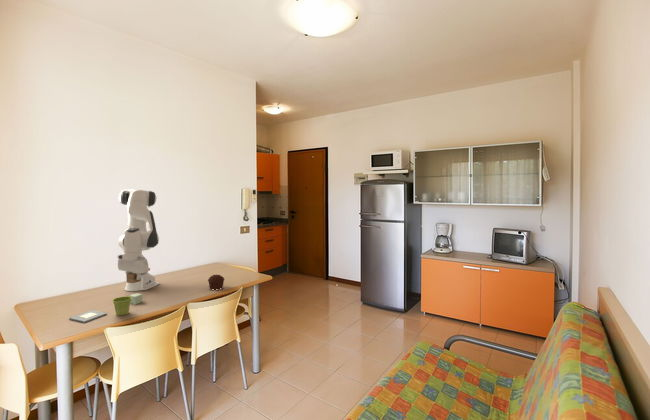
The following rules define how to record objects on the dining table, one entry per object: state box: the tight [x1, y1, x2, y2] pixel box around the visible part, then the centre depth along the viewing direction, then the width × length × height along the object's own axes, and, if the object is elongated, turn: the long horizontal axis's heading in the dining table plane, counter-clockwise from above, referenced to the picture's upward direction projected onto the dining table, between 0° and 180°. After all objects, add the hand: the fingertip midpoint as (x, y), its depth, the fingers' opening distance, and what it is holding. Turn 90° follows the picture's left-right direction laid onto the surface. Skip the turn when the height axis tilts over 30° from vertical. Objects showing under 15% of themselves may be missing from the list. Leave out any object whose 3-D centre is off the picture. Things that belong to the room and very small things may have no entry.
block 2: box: [129, 292, 143, 305], centre depth 196 cm, size 5×5×5 cm
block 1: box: [125, 272, 141, 283], centre depth 182 cm, size 5×5×5 cm
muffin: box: [207, 274, 225, 291], centre depth 226 cm, size 12×11×10 cm
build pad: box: [69, 309, 108, 324], centre depth 173 cm, size 12×12×1 cm
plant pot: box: [112, 295, 132, 317], centre depth 178 cm, size 9×9×9 cm
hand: (133, 279), depth 182 cm, fingers closed on block 1, 5 cm apart
